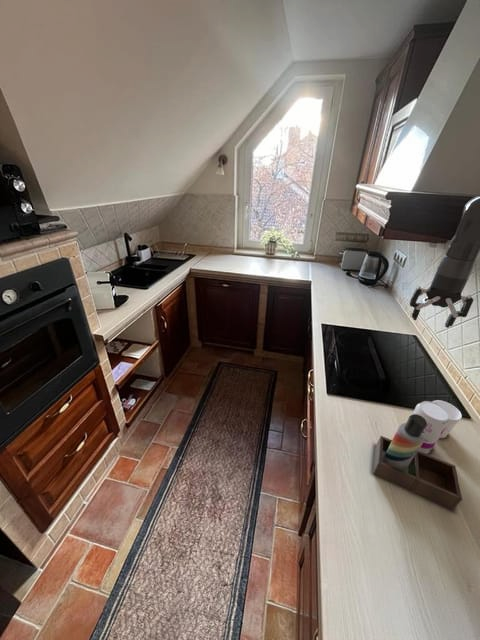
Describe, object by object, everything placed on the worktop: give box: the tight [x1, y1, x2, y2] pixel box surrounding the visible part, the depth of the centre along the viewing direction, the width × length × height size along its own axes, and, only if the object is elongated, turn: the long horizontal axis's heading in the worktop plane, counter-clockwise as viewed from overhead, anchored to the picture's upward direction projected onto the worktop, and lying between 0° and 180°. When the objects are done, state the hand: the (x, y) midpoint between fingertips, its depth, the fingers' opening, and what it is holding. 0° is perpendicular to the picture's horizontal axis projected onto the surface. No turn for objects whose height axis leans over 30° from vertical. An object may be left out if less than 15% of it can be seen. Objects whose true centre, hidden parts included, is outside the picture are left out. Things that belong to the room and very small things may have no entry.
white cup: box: [432, 399, 463, 439], centre depth 82 cm, size 8×8×10 cm
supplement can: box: [411, 400, 449, 454], centre depth 77 cm, size 8×8×15 cm
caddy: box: [372, 435, 463, 511], centre depth 70 cm, size 18×10×6 cm, turn 61°
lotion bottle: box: [383, 414, 427, 472], centre depth 68 cm, size 6×6×20 cm
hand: (430, 322), depth 79 cm, fingers open, 8 cm apart
